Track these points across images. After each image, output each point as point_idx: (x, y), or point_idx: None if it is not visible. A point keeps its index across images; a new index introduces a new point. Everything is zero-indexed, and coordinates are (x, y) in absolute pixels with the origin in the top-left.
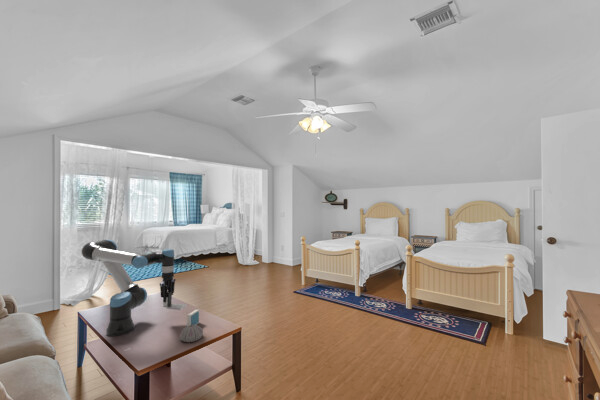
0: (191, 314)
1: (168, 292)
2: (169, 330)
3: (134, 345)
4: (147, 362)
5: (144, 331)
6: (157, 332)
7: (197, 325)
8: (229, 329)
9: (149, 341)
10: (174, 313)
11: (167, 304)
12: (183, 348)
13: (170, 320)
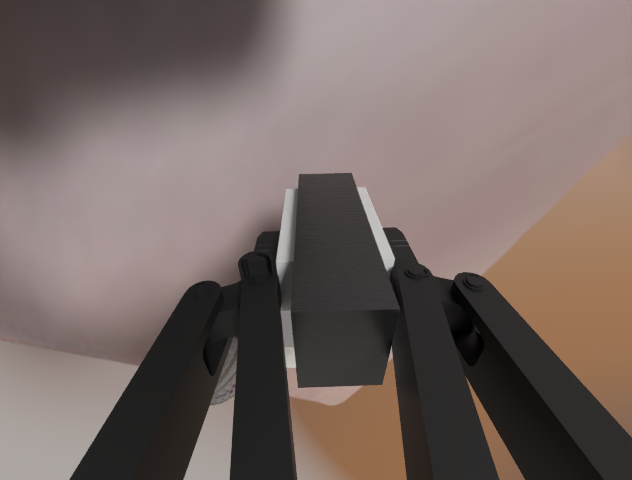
0: (290, 367)
1: (316, 377)
2: (234, 236)
3: (8, 186)
4: (8, 326)
5: (145, 88)
6: (184, 191)
7: (229, 396)
8: (319, 398)
9: (92, 227)
10: (512, 64)
11: None
12: None
13: (363, 141)
